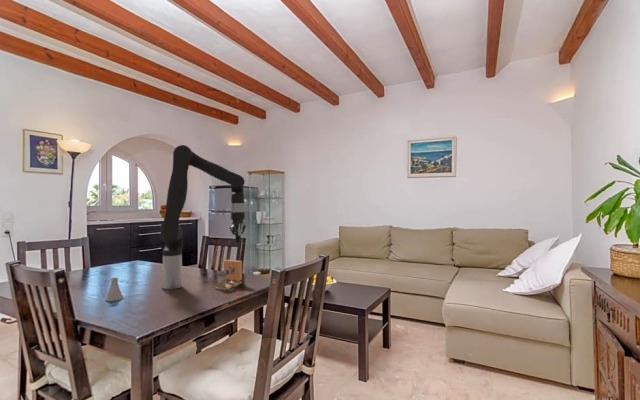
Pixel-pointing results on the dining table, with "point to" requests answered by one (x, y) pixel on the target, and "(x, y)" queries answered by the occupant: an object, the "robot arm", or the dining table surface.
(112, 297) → the flask
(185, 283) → the dining table surface
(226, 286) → the pipe stand
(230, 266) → the orange square plate
